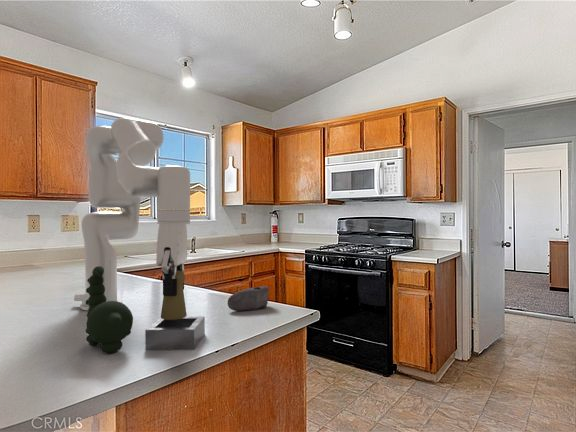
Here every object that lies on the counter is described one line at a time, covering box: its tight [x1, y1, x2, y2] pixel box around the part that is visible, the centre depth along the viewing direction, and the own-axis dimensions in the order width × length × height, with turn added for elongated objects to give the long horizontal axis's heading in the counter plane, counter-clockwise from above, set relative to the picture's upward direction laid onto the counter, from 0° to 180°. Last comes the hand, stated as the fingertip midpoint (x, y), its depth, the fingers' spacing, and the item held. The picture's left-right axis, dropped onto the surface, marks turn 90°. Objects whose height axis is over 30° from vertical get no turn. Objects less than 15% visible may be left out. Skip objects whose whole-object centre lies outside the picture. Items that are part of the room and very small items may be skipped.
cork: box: [160, 269, 188, 320], centre depth 92 cm, size 6×6×11 cm
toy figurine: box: [85, 266, 134, 354], centre depth 90 cm, size 9×19×25 cm
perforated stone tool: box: [227, 285, 270, 312], centre depth 123 cm, size 15×5×7 cm, turn 118°
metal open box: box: [144, 316, 206, 351], centre depth 92 cm, size 11×11×4 cm
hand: (173, 292), depth 92 cm, fingers closed on cork, 5 cm apart
